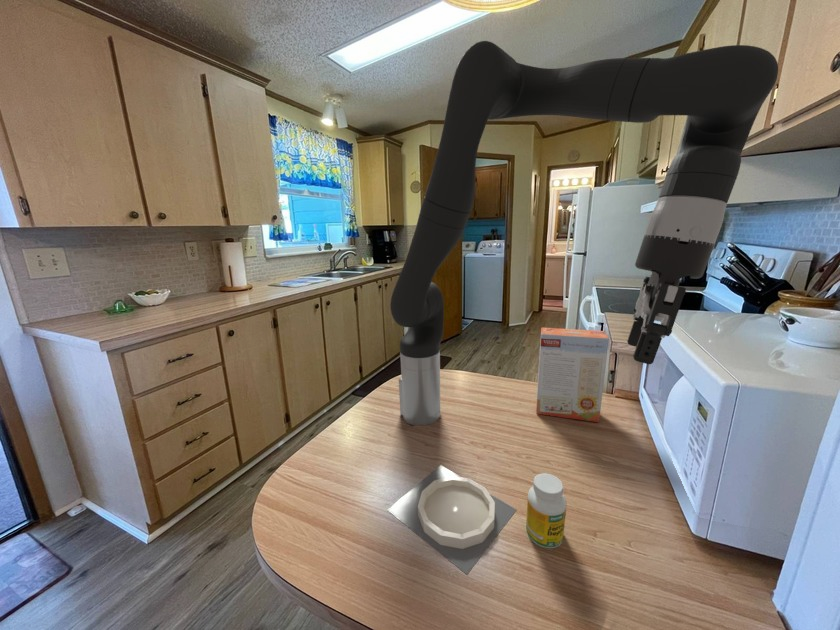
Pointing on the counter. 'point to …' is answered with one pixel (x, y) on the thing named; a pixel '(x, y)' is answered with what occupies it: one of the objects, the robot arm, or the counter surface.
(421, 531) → the slate board
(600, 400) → the cracker box
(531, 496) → the supplement bottle
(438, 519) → the bowl
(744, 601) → the counter surface
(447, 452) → the counter surface
